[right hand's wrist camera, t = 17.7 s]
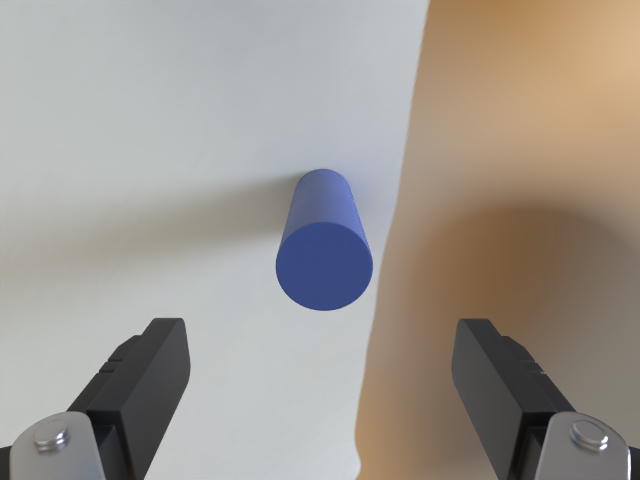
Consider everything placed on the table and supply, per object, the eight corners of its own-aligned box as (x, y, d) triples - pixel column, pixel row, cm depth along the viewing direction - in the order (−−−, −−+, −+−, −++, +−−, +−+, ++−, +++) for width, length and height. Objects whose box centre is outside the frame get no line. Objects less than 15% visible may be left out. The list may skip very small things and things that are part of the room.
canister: (285, 211, 29) (261, 290, 17) (307, 159, 27) (298, 206, 16) (336, 233, 29) (347, 323, 17) (361, 183, 28) (389, 245, 16)
